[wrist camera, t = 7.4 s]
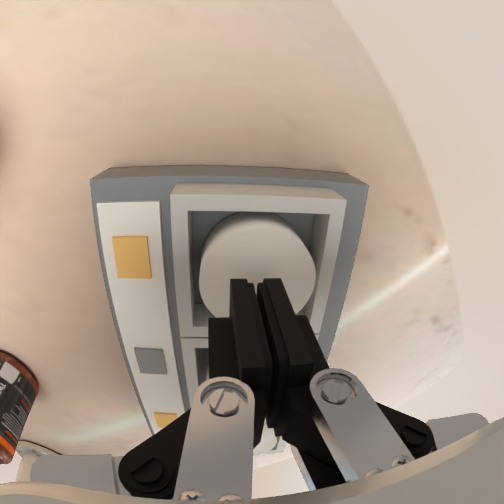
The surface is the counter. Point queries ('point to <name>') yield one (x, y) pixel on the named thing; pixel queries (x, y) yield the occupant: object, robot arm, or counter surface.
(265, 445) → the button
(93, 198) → the panel
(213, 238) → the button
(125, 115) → the counter surface
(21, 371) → the supplement bottle
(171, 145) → the counter surface
